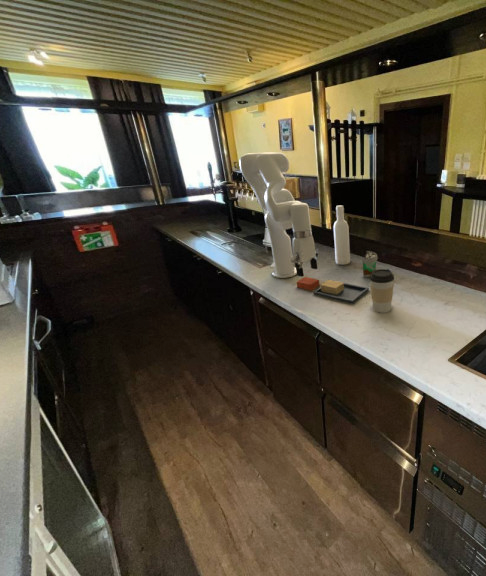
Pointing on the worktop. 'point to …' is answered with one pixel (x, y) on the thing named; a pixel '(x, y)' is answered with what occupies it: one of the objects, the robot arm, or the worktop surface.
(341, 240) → the bottle
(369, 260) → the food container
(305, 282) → the pad
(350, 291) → the tray
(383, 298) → the coffee cup
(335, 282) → the pad
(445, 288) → the worktop surface
